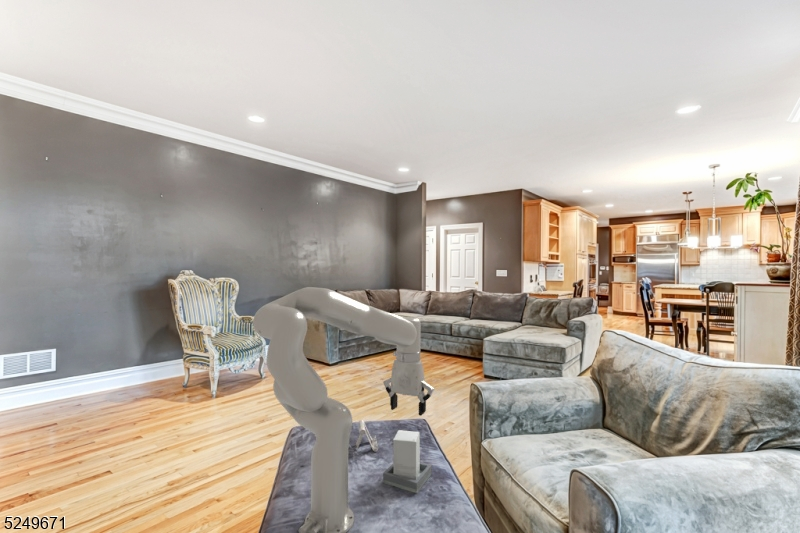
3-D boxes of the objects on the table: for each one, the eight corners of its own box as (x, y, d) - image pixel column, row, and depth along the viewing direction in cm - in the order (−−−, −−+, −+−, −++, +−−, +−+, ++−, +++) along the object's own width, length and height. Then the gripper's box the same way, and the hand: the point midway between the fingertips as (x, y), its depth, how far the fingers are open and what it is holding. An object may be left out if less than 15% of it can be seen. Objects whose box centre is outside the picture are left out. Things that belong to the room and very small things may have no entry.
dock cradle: (416, 493, 111) (416, 483, 111) (382, 482, 117) (383, 473, 117) (431, 474, 121) (431, 465, 121) (400, 465, 127) (400, 456, 127)
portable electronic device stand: (378, 451, 137) (378, 428, 137) (356, 453, 135) (356, 429, 135) (375, 440, 145) (376, 419, 145) (355, 442, 144) (355, 420, 144)
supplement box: (420, 470, 122) (420, 431, 122) (416, 483, 114) (416, 441, 115) (398, 467, 123) (398, 429, 123) (392, 480, 116) (392, 439, 116)
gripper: (378, 356, 120) (377, 410, 120) (429, 362, 112) (428, 420, 112) (390, 351, 126) (389, 402, 126) (438, 357, 118) (437, 412, 118)
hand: (407, 411), depth 119 cm, fingers open, 9 cm apart
